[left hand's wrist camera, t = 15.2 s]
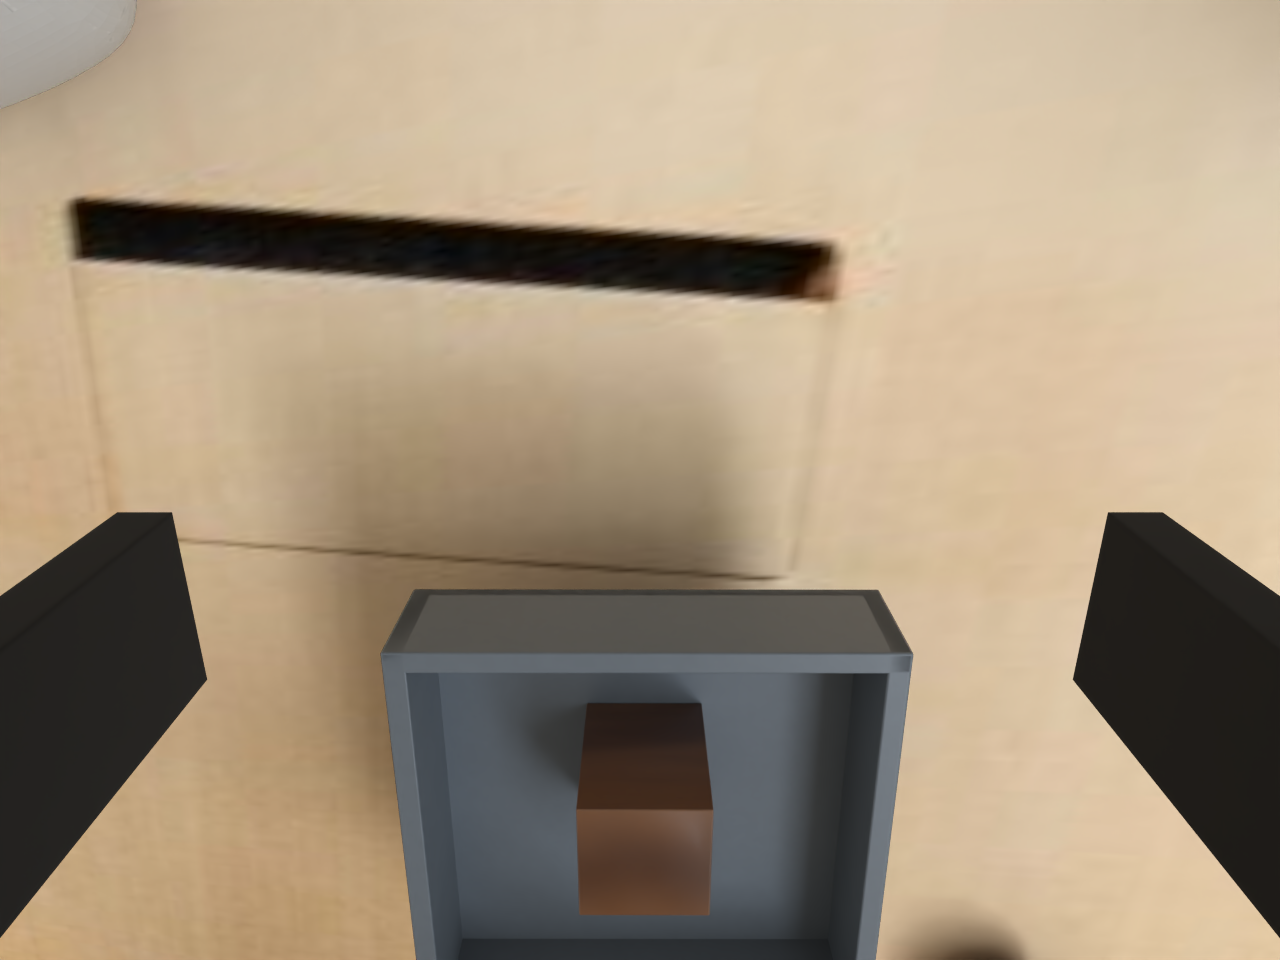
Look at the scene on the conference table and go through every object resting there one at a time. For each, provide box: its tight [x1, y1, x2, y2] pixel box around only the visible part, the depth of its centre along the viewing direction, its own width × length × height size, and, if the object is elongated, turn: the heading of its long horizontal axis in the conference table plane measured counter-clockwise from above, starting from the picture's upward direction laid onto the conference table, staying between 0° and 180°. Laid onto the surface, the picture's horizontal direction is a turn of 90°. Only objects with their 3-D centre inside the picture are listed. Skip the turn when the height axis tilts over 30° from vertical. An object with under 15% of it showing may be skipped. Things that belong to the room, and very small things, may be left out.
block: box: [576, 703, 714, 915], centre depth 32 cm, size 4×4×6 cm
